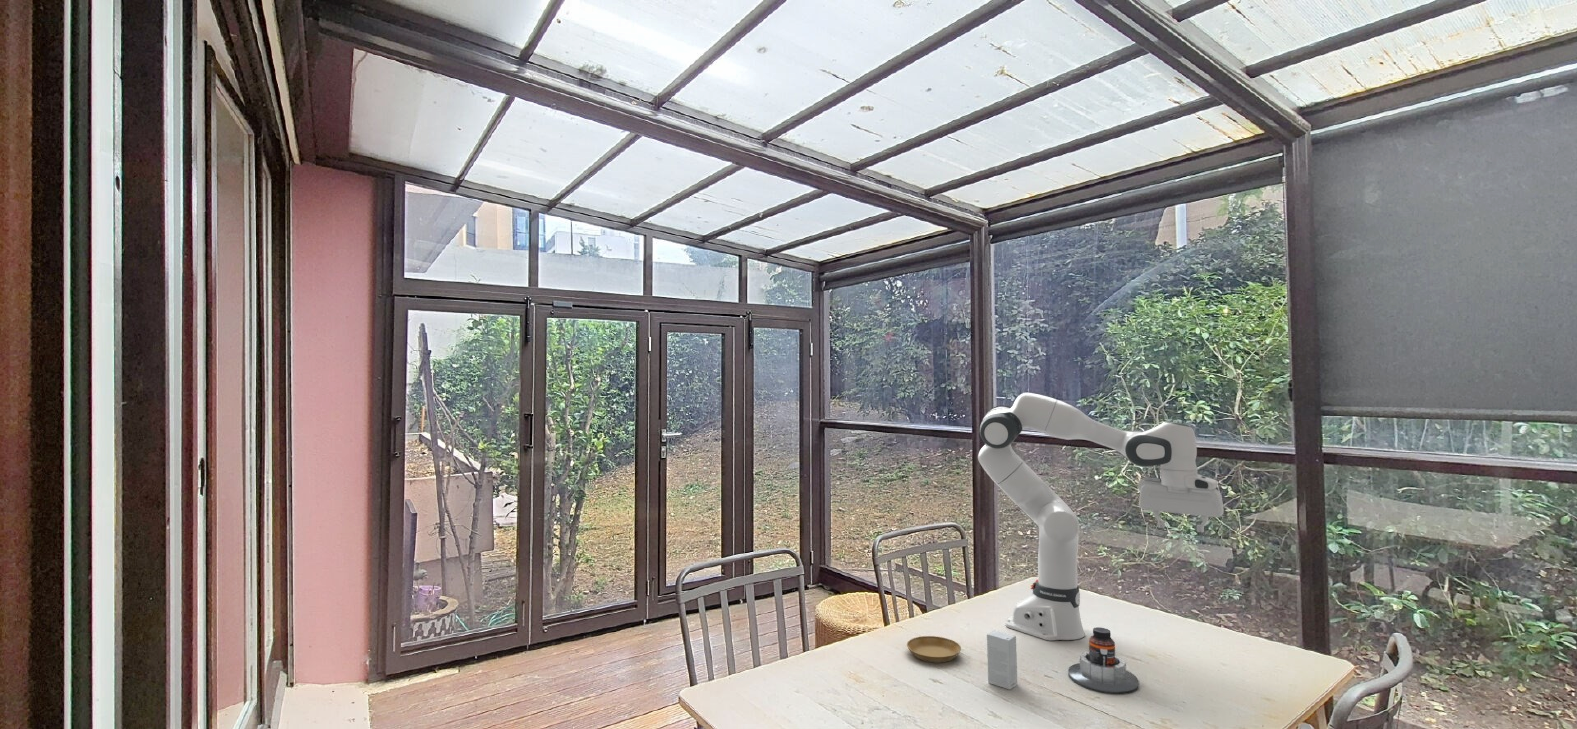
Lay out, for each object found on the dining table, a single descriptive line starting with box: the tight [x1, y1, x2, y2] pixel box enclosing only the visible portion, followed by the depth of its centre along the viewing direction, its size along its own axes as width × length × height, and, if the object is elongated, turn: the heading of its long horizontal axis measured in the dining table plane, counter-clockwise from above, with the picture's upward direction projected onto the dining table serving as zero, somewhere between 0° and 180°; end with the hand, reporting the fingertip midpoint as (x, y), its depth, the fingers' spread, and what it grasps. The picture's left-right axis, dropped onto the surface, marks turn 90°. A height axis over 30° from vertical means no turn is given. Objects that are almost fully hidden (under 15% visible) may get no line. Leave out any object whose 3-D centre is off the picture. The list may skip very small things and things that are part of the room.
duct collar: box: [1067, 651, 1140, 695], centre depth 164 cm, size 16×16×5 cm
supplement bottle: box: [1088, 626, 1116, 666], centre depth 164 cm, size 6×6×11 cm
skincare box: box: [986, 630, 1018, 690], centre depth 162 cm, size 6×4×12 cm
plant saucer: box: [906, 635, 962, 664], centre depth 180 cm, size 15×15×3 cm
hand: (1180, 529), depth 181 cm, fingers open, 8 cm apart
